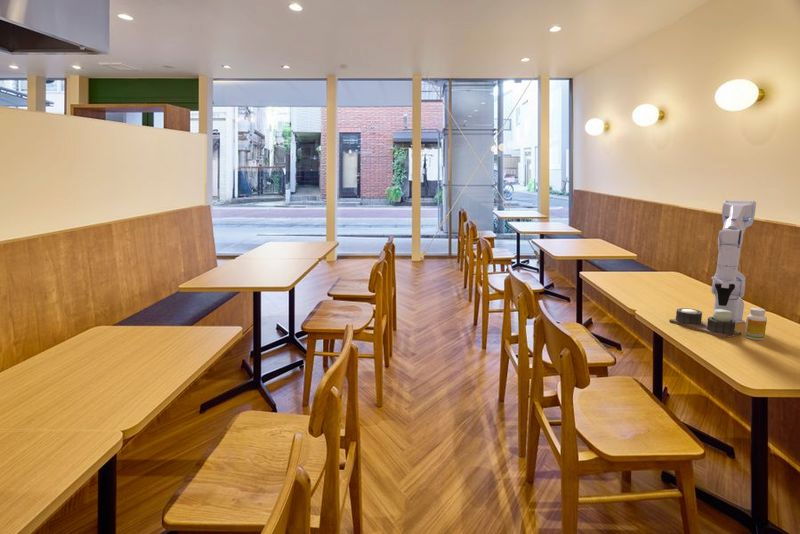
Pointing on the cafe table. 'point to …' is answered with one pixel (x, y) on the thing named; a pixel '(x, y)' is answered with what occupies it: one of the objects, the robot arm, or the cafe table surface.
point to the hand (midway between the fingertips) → (722, 305)
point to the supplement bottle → (756, 324)
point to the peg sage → (722, 315)
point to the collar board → (705, 324)
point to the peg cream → (688, 311)
